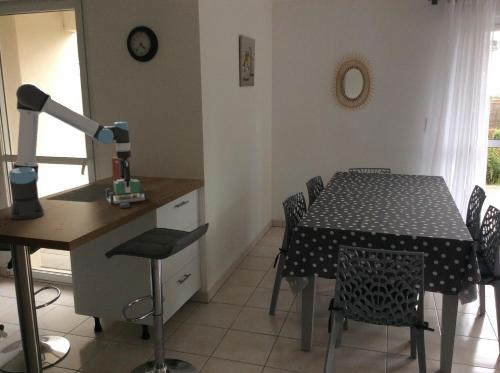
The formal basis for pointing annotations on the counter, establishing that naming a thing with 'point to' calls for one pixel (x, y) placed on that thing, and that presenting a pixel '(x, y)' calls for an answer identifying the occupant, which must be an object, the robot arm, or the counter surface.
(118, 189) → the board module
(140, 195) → the chassis
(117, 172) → the orange cardboard box
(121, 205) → the tape roll
